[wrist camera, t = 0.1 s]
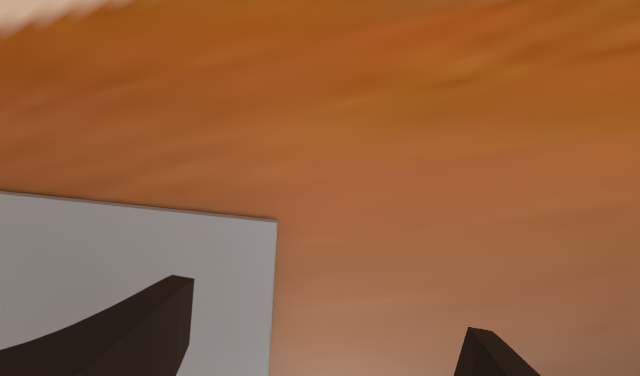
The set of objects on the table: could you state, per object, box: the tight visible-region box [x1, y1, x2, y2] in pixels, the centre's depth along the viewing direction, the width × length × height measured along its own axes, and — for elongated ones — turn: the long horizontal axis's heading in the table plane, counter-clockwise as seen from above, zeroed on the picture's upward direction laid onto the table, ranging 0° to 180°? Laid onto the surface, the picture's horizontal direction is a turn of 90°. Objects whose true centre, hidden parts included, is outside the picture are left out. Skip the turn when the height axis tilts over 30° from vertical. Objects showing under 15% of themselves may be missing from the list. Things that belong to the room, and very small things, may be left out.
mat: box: [0, 191, 278, 376], centre depth 24 cm, size 11×20×1 cm, turn 85°
